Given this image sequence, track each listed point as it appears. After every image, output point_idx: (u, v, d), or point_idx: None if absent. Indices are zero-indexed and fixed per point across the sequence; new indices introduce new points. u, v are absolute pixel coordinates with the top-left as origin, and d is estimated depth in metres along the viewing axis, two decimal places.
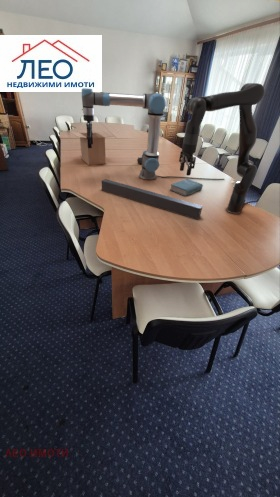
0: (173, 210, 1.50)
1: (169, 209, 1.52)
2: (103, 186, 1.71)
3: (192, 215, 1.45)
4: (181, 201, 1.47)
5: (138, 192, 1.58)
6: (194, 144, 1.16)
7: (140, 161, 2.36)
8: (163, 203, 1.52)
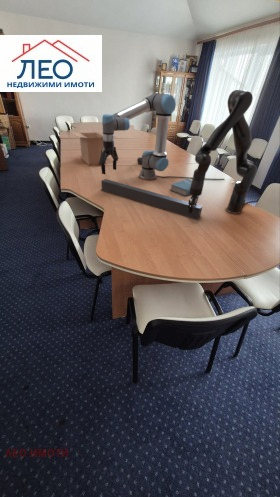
0: (173, 210, 1.50)
1: (169, 209, 1.52)
2: (103, 186, 1.71)
3: (192, 215, 1.45)
4: (181, 201, 1.47)
5: (138, 192, 1.58)
6: (195, 188, 1.34)
7: (140, 161, 2.36)
8: (163, 203, 1.52)
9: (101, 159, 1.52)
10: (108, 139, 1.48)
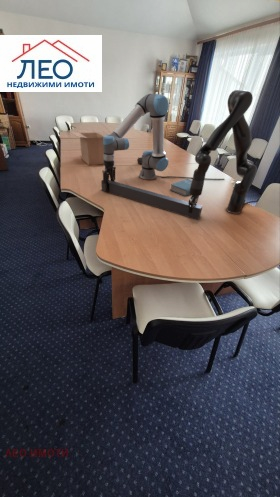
0: (173, 210, 1.50)
1: (169, 209, 1.52)
2: (103, 186, 1.71)
3: (192, 215, 1.45)
4: (181, 201, 1.47)
5: (138, 192, 1.58)
6: (195, 188, 1.34)
7: (140, 161, 2.36)
8: (163, 203, 1.52)
9: (104, 179, 1.63)
10: (108, 159, 1.56)
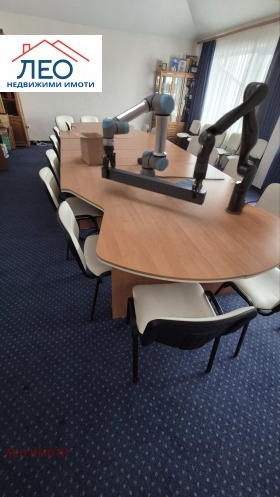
0: (176, 196, 1.45)
1: (172, 195, 1.46)
2: (103, 173, 1.66)
3: (195, 201, 1.40)
4: (184, 186, 1.41)
5: (139, 178, 1.52)
6: (199, 172, 1.28)
7: (140, 161, 2.36)
8: (166, 189, 1.46)
9: (104, 165, 1.57)
10: (108, 143, 1.50)
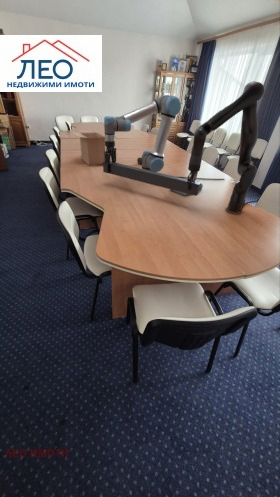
0: (173, 188, 1.55)
1: (169, 187, 1.56)
2: (104, 167, 1.76)
3: (191, 192, 1.50)
4: (180, 178, 1.52)
5: (138, 172, 1.63)
6: (194, 164, 1.39)
7: (140, 161, 2.36)
8: (163, 181, 1.56)
9: (106, 160, 1.68)
10: (110, 139, 1.61)
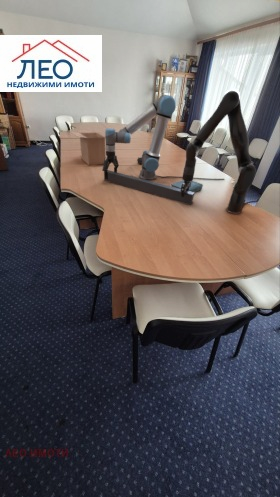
0: (168, 197, 1.68)
1: (165, 196, 1.69)
2: None
3: (185, 201, 1.63)
4: (175, 188, 1.65)
5: (137, 181, 1.76)
6: (187, 174, 1.51)
7: (140, 161, 2.36)
8: (160, 191, 1.70)
9: (104, 166, 1.77)
10: (110, 149, 1.73)
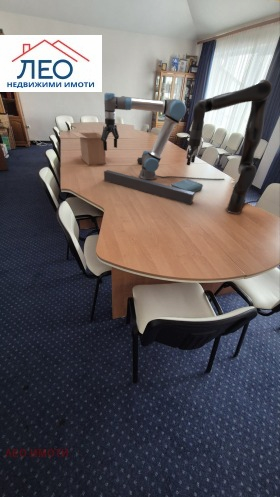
0: (168, 197, 1.68)
1: (165, 196, 1.69)
2: (105, 176, 1.89)
3: (185, 201, 1.63)
4: (175, 188, 1.65)
5: (137, 181, 1.76)
6: (194, 138, 1.38)
7: (140, 161, 2.36)
8: (160, 191, 1.70)
9: (103, 135, 1.64)
10: (109, 116, 1.60)
